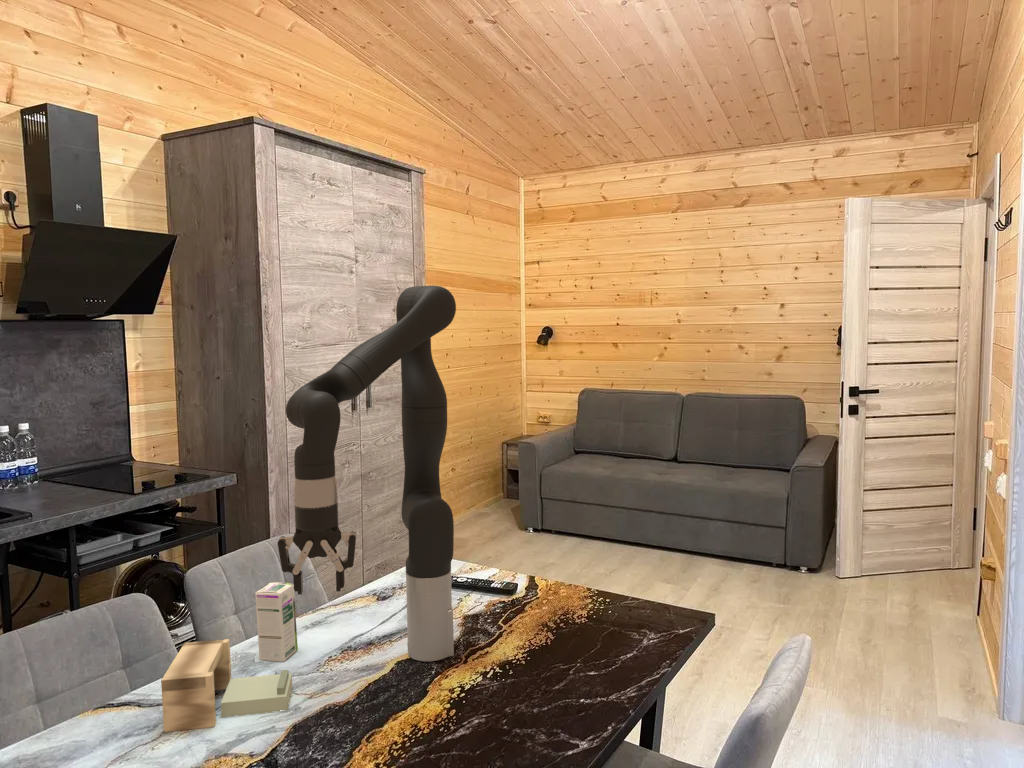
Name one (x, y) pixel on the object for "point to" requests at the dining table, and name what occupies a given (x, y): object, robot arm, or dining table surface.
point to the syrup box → (276, 621)
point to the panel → (257, 694)
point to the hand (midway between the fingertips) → (319, 591)
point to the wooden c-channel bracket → (195, 684)
